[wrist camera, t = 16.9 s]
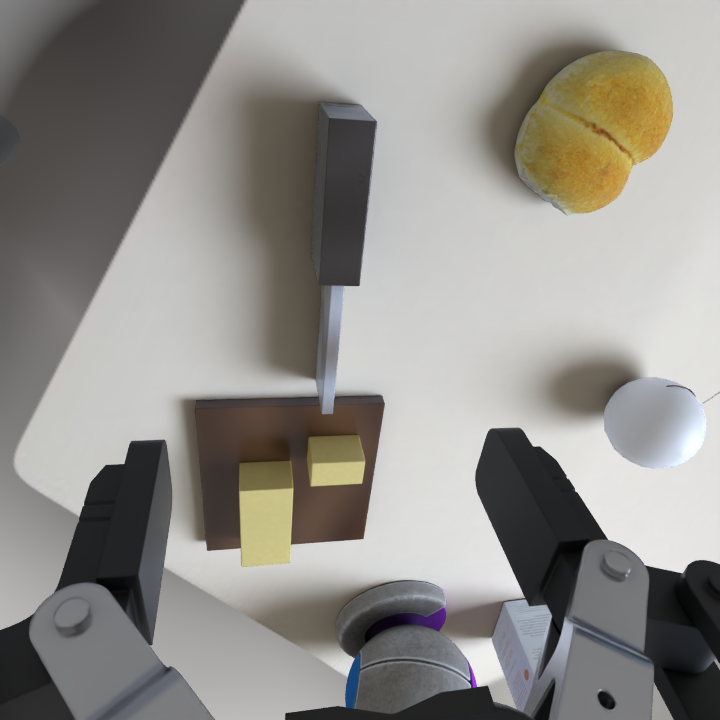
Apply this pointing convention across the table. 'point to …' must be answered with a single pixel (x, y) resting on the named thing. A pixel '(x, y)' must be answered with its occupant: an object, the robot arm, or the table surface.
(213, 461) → the board
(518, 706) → the small box
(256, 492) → the butter
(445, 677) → the webcam
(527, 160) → the bread roll
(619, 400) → the seamed sphere
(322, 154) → the knife
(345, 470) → the butter pat
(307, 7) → the table surface
